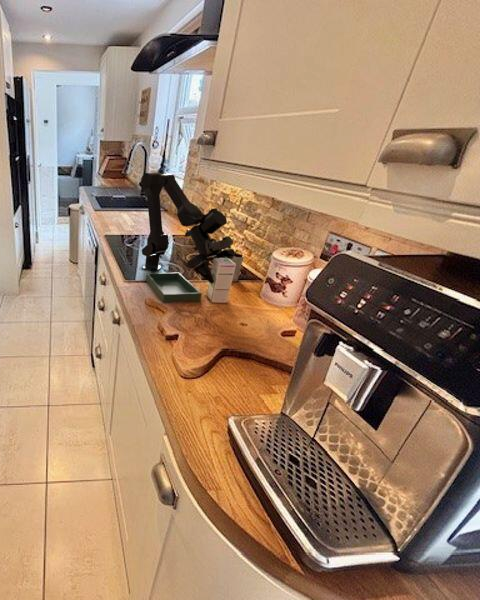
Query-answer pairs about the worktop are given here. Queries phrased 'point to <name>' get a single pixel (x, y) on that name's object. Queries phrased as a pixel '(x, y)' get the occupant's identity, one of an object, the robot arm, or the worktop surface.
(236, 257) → the grey upright cylinder
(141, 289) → the worktop surface
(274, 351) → the worktop surface
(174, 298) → the tray
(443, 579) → the worktop surface
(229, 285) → the syrup box
